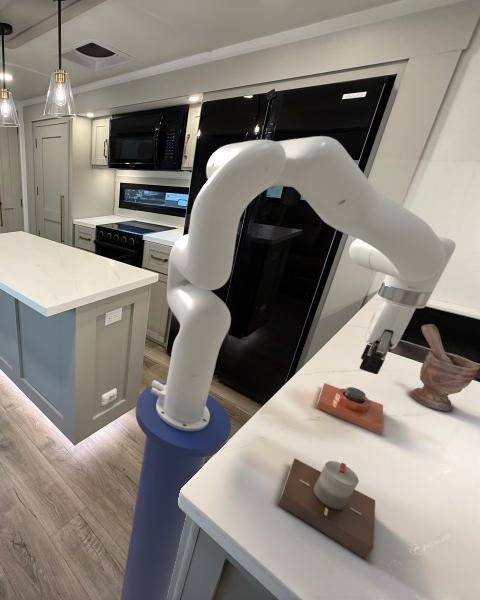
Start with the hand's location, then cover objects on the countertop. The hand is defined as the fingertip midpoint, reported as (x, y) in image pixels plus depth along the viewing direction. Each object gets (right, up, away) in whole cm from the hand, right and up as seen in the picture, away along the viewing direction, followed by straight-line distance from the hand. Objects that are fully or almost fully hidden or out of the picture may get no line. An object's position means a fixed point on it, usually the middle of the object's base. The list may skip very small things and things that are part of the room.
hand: (368, 365), depth 72 cm
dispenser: (0, -12, +5) cm, 13 cm away
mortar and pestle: (+23, -11, +10) cm, 28 cm away
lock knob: (-25, -19, -19) cm, 37 cm away
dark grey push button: (0, -9, +4) cm, 10 cm away
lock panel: (-25, -22, -18) cm, 37 cm away
